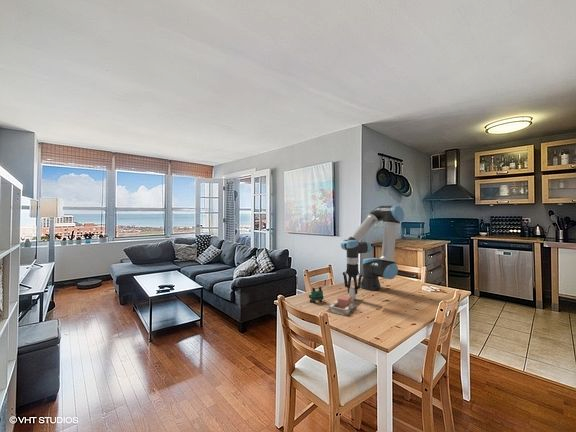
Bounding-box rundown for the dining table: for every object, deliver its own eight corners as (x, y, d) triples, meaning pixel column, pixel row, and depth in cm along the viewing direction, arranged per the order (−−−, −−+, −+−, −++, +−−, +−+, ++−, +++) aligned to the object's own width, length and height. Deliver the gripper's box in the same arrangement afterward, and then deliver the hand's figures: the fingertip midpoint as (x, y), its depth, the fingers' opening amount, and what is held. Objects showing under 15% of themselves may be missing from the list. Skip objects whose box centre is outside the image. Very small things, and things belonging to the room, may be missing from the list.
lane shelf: (343, 298, 178) (343, 292, 178) (363, 301, 171) (363, 295, 171) (326, 312, 153) (326, 306, 153) (349, 318, 145) (349, 311, 145)
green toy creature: (318, 284, 177) (324, 287, 167) (319, 300, 176) (325, 304, 166) (306, 285, 175) (311, 288, 165) (306, 301, 174) (312, 305, 164)
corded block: (349, 297, 176) (349, 286, 175) (357, 299, 173) (357, 287, 172) (337, 308, 157) (337, 295, 157) (347, 310, 154) (347, 297, 154)
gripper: (339, 263, 173) (339, 298, 173) (362, 265, 165) (362, 302, 165) (343, 261, 179) (343, 294, 180) (365, 263, 171) (365, 298, 172)
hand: (352, 298), depth 173 cm, fingers closed on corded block, 2 cm apart
